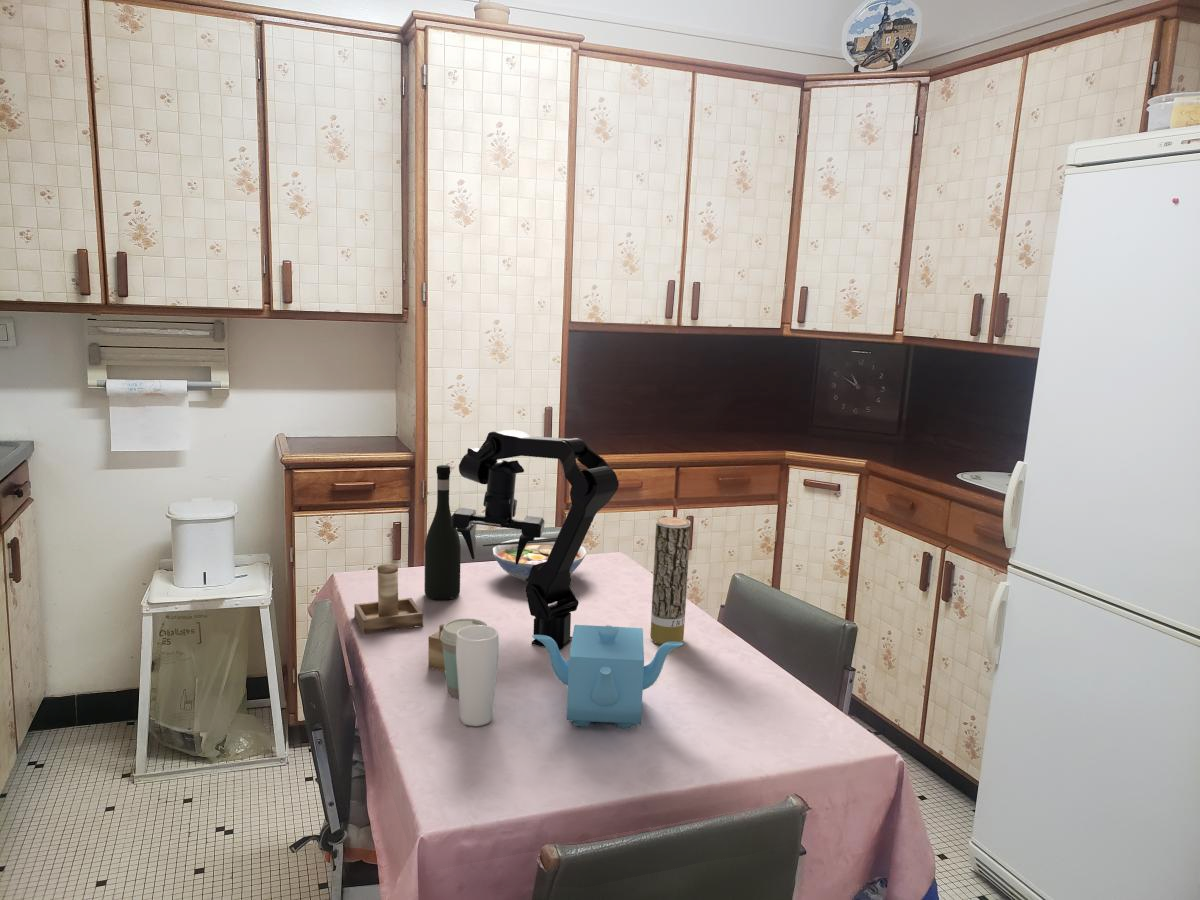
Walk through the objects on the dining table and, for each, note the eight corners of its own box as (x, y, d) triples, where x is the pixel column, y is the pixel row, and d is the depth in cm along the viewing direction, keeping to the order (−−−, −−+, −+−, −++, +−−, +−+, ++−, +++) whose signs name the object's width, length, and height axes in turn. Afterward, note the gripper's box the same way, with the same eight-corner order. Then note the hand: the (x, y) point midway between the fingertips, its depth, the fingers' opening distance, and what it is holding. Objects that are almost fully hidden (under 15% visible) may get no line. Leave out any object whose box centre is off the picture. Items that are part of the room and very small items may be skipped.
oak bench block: (437, 661, 165) (437, 621, 164) (484, 672, 162) (484, 630, 160) (428, 667, 163) (428, 626, 161) (475, 678, 159) (476, 636, 158)
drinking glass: (462, 733, 139) (464, 643, 136) (449, 714, 145) (450, 627, 142) (503, 725, 142) (505, 636, 140) (488, 707, 148) (490, 622, 146)
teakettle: (606, 680, 161) (609, 602, 158) (684, 717, 147) (688, 633, 145) (524, 710, 148) (526, 626, 145) (602, 754, 134) (605, 663, 132)
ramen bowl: (500, 599, 200) (501, 564, 199) (477, 569, 221) (477, 537, 220) (603, 590, 209) (605, 557, 208) (571, 562, 230) (572, 531, 229)
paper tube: (645, 643, 178) (651, 522, 174) (656, 631, 185) (662, 515, 180) (677, 649, 176) (684, 527, 172) (687, 637, 182) (694, 519, 178)
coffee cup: (479, 705, 149) (480, 638, 146) (431, 699, 150) (432, 632, 148) (495, 684, 157) (497, 620, 155) (450, 678, 158) (450, 614, 156)
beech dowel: (402, 617, 184) (402, 566, 182) (386, 622, 181) (385, 571, 179) (390, 612, 187) (389, 562, 185) (374, 617, 184) (373, 567, 182)
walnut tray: (411, 610, 191) (411, 597, 191) (422, 626, 182) (423, 613, 182) (354, 616, 186) (354, 604, 186) (363, 633, 177) (363, 620, 177)
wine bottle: (417, 595, 201) (417, 465, 196) (444, 587, 207) (446, 461, 201) (439, 604, 196) (440, 471, 190) (467, 595, 202) (469, 466, 196)
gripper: (551, 485, 189) (544, 554, 193) (465, 475, 190) (460, 543, 194) (543, 499, 178) (536, 572, 182) (452, 488, 180) (447, 560, 183)
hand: (495, 561), depth 185 cm, fingers open, 9 cm apart
